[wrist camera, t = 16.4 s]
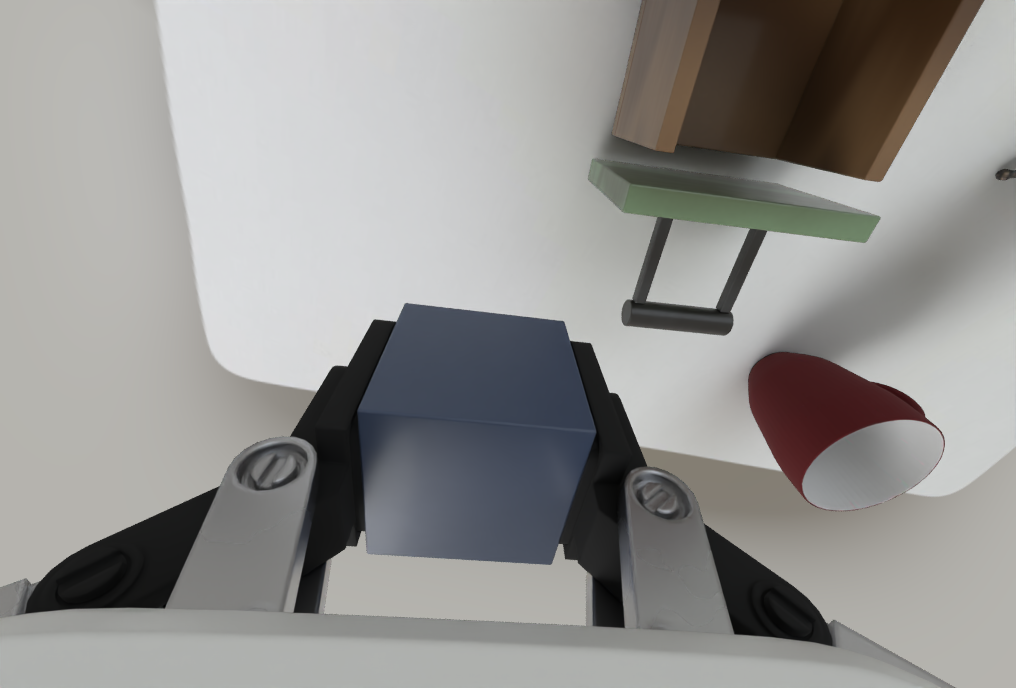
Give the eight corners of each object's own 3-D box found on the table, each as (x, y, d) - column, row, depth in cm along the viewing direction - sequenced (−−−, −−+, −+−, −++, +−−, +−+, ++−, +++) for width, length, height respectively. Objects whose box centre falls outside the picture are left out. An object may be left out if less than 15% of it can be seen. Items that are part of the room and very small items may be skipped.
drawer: (724, 302, 29) (793, 366, 22) (564, 285, 28) (586, 346, 21) (906, -108, 18) (1144, -225, 11) (660, -160, 17) (764, -321, 10)
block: (403, 424, 12) (365, 555, 9) (404, 302, 10) (355, 410, 7) (537, 436, 12) (552, 565, 9) (564, 320, 10) (597, 432, 7)
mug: (870, 311, 30) (1017, 396, 22) (848, 394, 34) (965, 493, 26) (724, 341, 31) (810, 433, 23) (720, 418, 35) (792, 521, 27)
